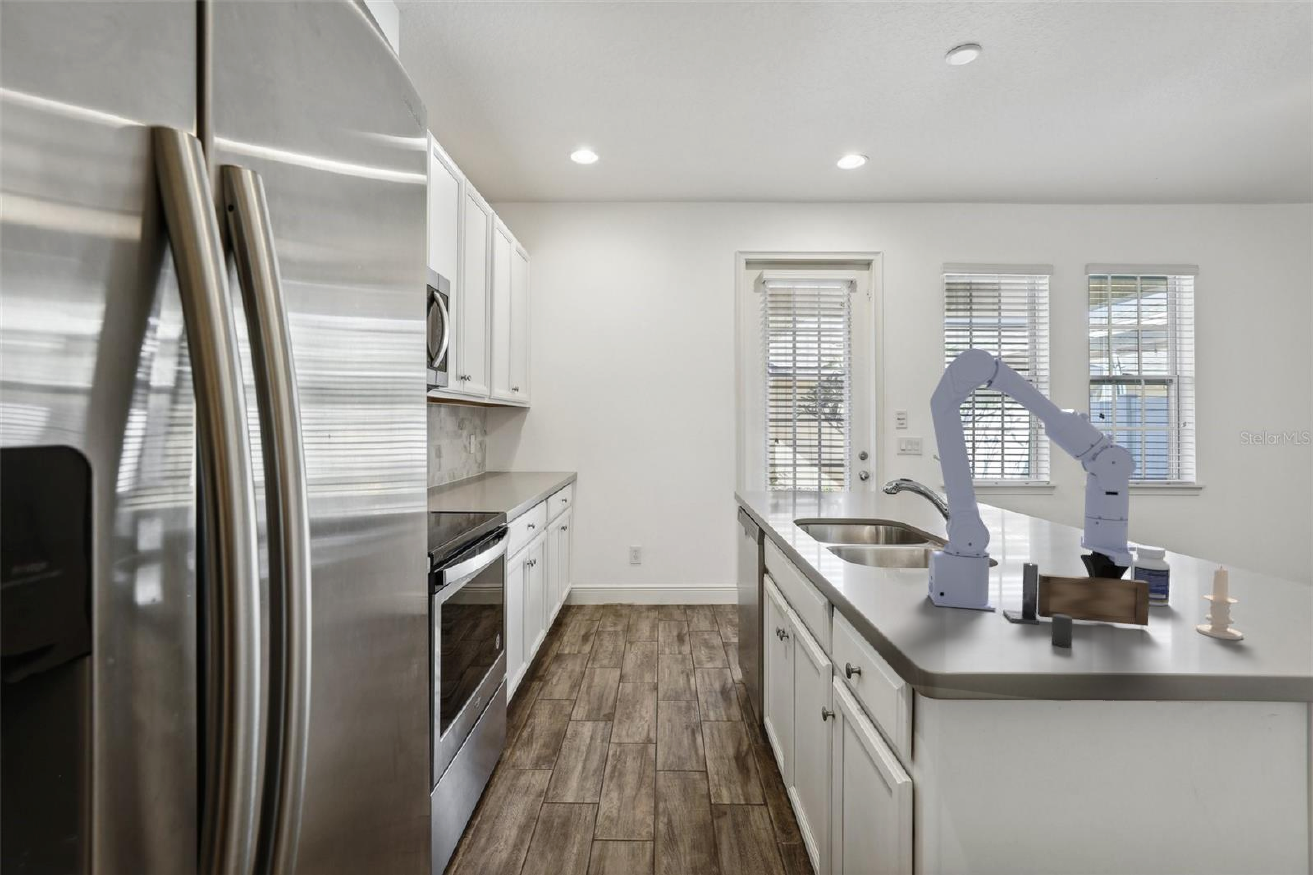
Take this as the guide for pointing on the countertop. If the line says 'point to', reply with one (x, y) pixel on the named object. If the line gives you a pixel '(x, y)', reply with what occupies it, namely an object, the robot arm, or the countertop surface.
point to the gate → (1094, 598)
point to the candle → (1220, 610)
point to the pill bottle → (1153, 573)
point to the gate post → (1027, 597)
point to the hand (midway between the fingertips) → (1103, 600)
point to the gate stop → (1062, 630)
